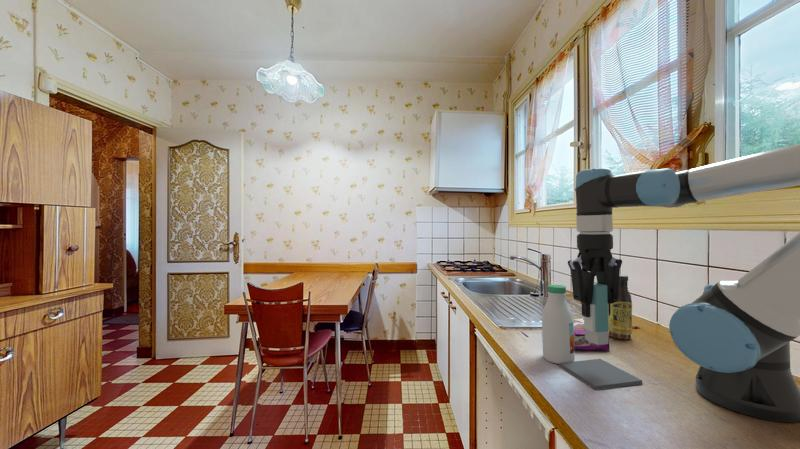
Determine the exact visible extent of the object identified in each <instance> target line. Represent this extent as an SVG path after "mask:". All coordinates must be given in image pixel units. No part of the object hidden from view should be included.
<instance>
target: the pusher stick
mask: <svg viewBox="0 0 800 449" xmlns="http://www.w3.org/2000/svg"><path fill="white" fill-rule="evenodd" d="M592 304H595V332H592V331H589V330H587V329H585V339H586V340H588V341H590V342H592V343H594V344H596V345H603V344H609V345H610V338H609V339H608V335H609V330H608V298H607V285H604V284H599V283H597V282H595V281H594V286H593V296H592Z"/></svg>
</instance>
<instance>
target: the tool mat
mask: <svg viewBox="0 0 800 449" xmlns="http://www.w3.org/2000/svg"><path fill="white" fill-rule="evenodd" d="M559 367H560V368H562V370H565V371H567V372H568V373H569V374H571V375H572V376H573V377H575V378H577V379H579V380H581V381H582V382H583V383H584V384H587V386H589V385H590V387H591V388H593V389H594V388H595V389H594V390H596V389H599V390H604V389H603V388H606V389H613V387H614V388H621V387H627V386H629V387H630V386H634V385H635V386H636V385H637V386H638V385H642V384H643V380H642V379H640V378H639V377H637V376H635V375H633V374H631V373H628V372H627V371H625V370H624V369H621V368H619V367H617V366H616V365H613V364H611V363H609V362H607V360H606V361H605V360H603V359H602V358H594V359H585V360H577V361H575V360H574V362H566V363H560V364H559Z"/></svg>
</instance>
